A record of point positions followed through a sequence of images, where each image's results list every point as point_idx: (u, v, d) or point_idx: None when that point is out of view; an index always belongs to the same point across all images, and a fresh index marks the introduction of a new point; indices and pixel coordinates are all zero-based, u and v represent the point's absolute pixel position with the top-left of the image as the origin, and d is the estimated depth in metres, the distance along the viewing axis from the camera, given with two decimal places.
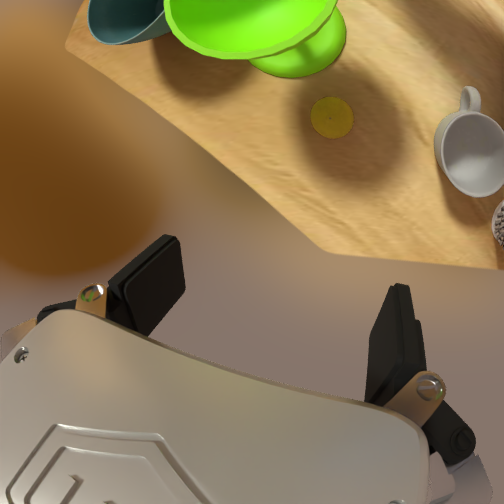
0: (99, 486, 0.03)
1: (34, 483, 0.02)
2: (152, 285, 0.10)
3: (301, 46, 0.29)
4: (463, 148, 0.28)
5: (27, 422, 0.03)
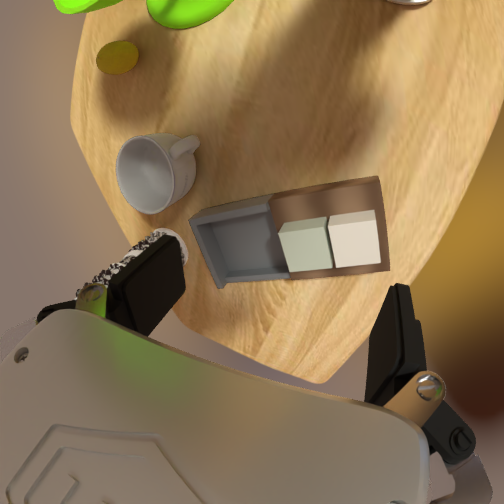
0: (99, 486, 0.03)
1: (34, 483, 0.02)
2: (152, 285, 0.10)
3: (172, 1, 0.24)
4: None
5: (27, 422, 0.03)
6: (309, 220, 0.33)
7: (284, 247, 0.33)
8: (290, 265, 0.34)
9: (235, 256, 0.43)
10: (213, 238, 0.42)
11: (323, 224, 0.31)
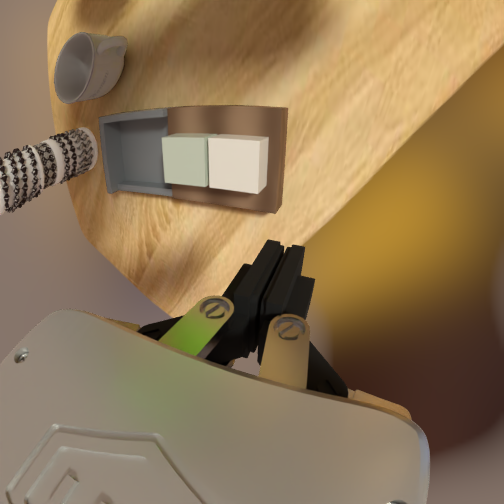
0: (99, 486, 0.03)
1: (34, 483, 0.02)
2: None
3: None
4: None
5: (27, 422, 0.03)
6: (199, 134, 0.29)
7: (164, 153, 0.29)
8: (166, 175, 0.30)
9: (133, 165, 0.38)
10: (118, 142, 0.36)
11: (206, 136, 0.27)
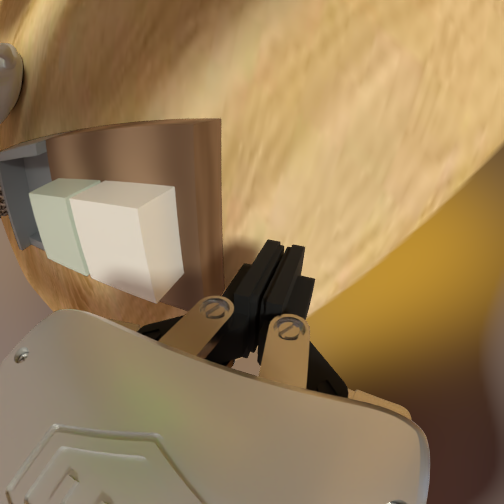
0: (99, 486, 0.03)
1: (34, 483, 0.02)
2: None
3: None
4: None
5: (27, 422, 0.03)
6: (77, 181, 0.15)
7: (36, 218, 0.15)
8: (46, 248, 0.17)
9: None
10: (22, 182, 0.22)
11: (73, 193, 0.13)
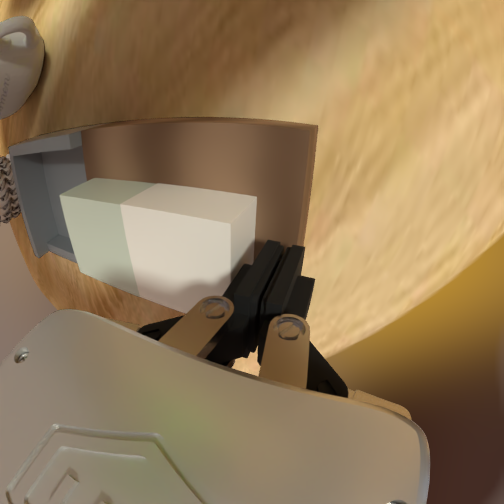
0: (99, 486, 0.03)
1: (34, 483, 0.02)
2: None
3: None
4: None
5: (27, 422, 0.03)
6: (125, 183, 0.14)
7: (68, 225, 0.14)
8: (79, 261, 0.15)
9: (62, 215, 0.22)
10: (40, 181, 0.20)
11: None
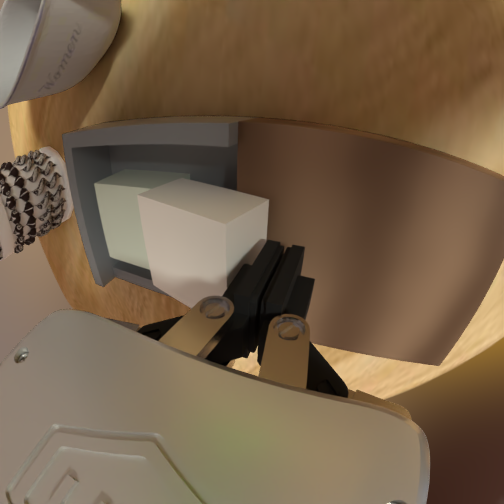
0: (99, 486, 0.03)
1: (34, 483, 0.02)
2: None
3: None
4: None
5: (27, 422, 0.03)
6: (158, 173, 0.16)
7: (101, 211, 0.16)
8: (110, 246, 0.17)
9: None
10: None
11: None
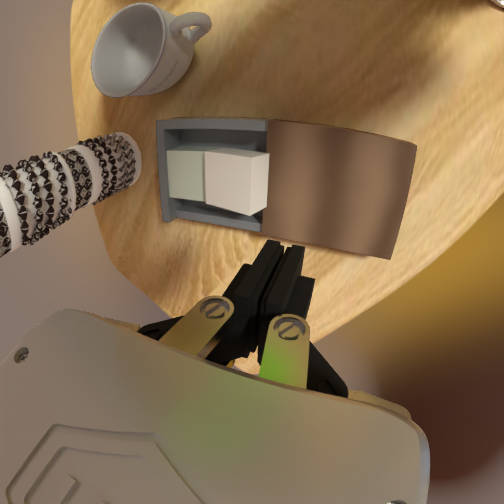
0: (99, 486, 0.03)
1: (34, 483, 0.02)
2: None
3: None
4: None
5: (27, 422, 0.03)
6: (205, 147, 0.29)
7: (169, 167, 0.29)
8: (171, 189, 0.30)
9: None
10: None
11: None
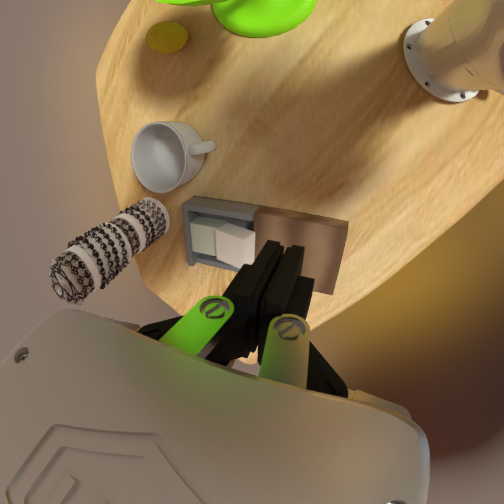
0: (99, 486, 0.03)
1: (34, 483, 0.02)
2: None
3: (237, 3, 0.27)
4: (180, 152, 0.42)
5: (27, 422, 0.03)
6: (215, 220, 0.47)
7: (192, 233, 0.46)
8: (193, 246, 0.48)
9: None
10: None
11: (220, 226, 0.45)
